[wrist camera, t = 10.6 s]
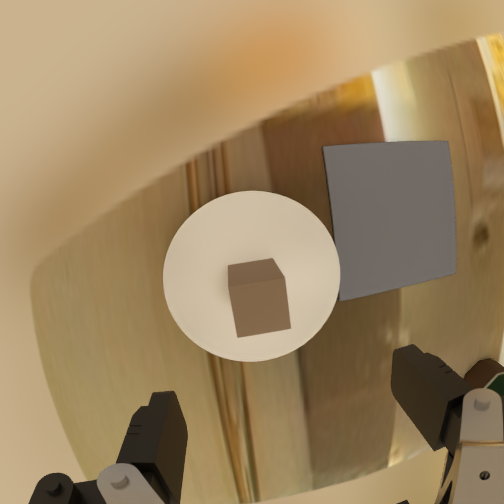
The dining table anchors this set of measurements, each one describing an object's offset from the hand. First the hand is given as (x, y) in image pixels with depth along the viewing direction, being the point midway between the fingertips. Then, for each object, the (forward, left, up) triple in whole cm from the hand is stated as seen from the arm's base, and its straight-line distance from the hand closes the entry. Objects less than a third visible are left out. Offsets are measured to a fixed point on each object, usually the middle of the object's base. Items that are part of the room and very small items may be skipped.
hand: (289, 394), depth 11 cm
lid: (0, 0, -14) cm, 14 cm away
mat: (-16, -2, -20) cm, 25 cm away
